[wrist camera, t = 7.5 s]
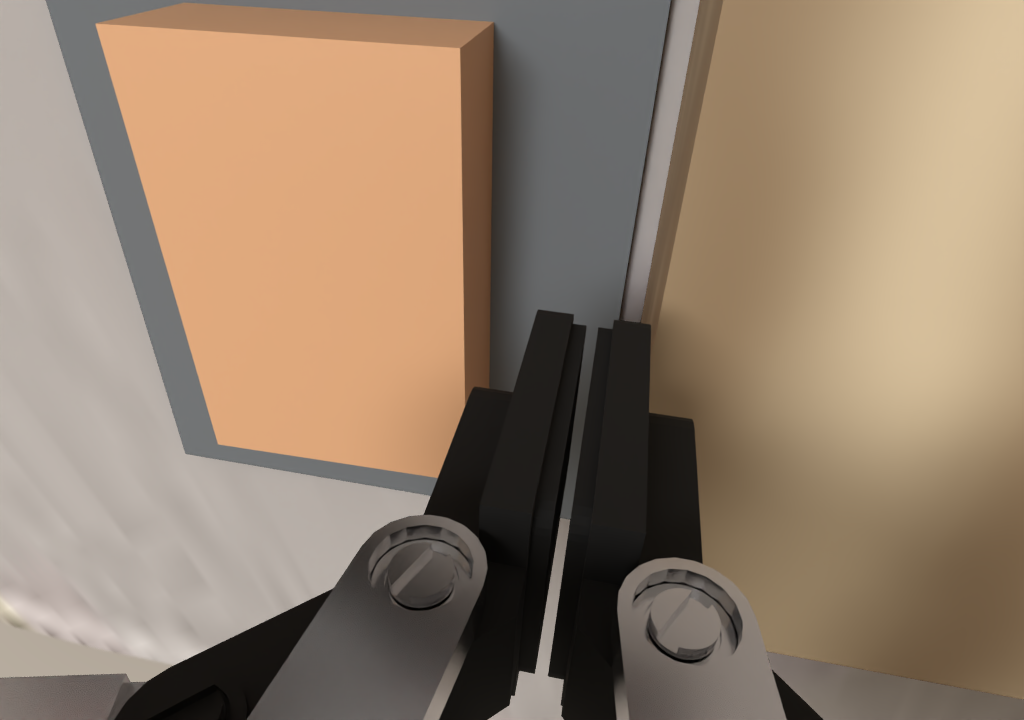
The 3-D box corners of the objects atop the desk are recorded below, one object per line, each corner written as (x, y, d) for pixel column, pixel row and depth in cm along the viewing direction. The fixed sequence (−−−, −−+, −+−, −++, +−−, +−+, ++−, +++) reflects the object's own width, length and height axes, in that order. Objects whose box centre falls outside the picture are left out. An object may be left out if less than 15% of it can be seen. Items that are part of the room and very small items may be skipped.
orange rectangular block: (95, 23, 11) (183, 2, 13) (217, 444, 16) (267, 382, 18) (460, 48, 10) (493, 21, 12) (466, 482, 15) (489, 412, 17)
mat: (708, -239, 10) (710, -242, 10) (586, 514, 19) (585, 522, 19) (-23, -266, 11) (-38, -269, 11) (191, 447, 21) (185, 453, 20)
